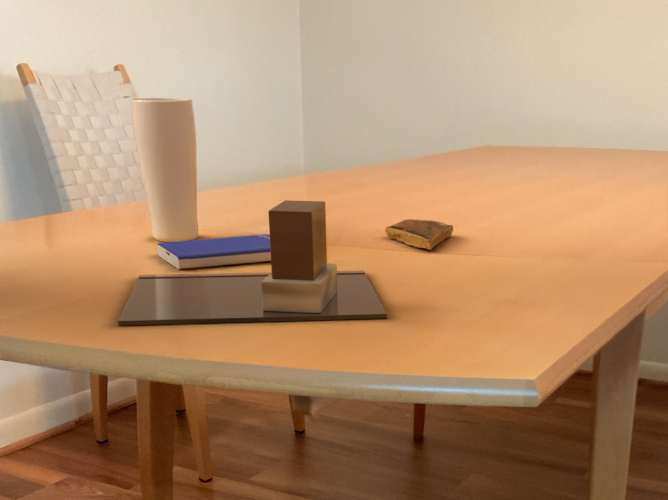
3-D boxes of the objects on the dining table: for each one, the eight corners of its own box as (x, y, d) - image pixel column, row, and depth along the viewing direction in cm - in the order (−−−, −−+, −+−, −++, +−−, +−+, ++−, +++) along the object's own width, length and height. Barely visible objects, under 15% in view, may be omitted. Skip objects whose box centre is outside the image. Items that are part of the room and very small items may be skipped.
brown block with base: (320, 313, 77) (317, 213, 73) (262, 311, 77) (256, 212, 74) (337, 292, 84) (335, 199, 80) (284, 289, 84) (279, 198, 81)
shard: (430, 252, 103) (430, 236, 102) (366, 248, 105) (366, 231, 104) (455, 237, 112) (456, 221, 111) (396, 232, 114) (396, 217, 113)
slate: (118, 325, 74) (117, 319, 74) (139, 280, 89) (139, 275, 89) (386, 318, 77) (386, 312, 77) (364, 275, 92) (364, 270, 92)
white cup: (136, 238, 109) (119, 98, 102) (186, 232, 113) (173, 97, 106) (164, 246, 104) (149, 101, 97) (216, 240, 108) (204, 99, 101)
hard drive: (264, 233, 104) (156, 241, 99) (292, 245, 98) (178, 254, 92) (265, 247, 105) (158, 256, 99) (292, 260, 98) (179, 270, 93)
